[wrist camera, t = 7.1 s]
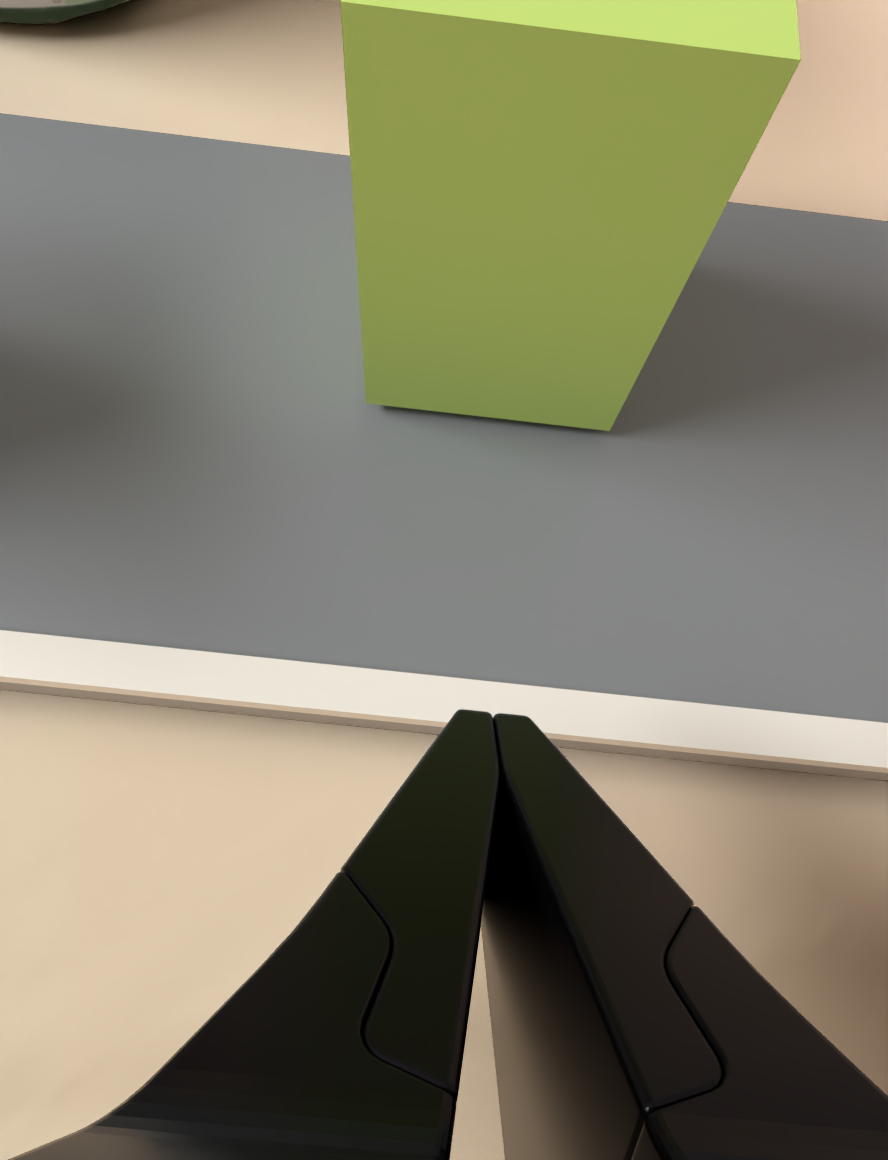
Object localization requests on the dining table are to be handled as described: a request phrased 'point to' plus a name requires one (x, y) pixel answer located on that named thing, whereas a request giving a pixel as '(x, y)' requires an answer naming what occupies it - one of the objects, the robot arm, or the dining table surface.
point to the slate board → (428, 478)
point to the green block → (542, 187)
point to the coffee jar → (50, 9)
